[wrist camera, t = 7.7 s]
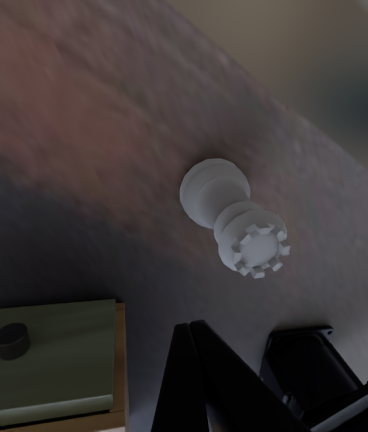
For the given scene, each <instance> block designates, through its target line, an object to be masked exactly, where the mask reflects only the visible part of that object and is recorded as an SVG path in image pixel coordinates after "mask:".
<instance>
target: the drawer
mask: <svg viewBox="0 0 368 432" xmlns="http://www.w3.org/2000/svg"><path fill="white" fill-rule="evenodd" d="M115 332H116V302H115V299H108V300H96V301H85V302H73V303H61V304H50V305H38V306H27V307H15V308H3V309H0V430H5V429H11V428H18V427H24V426H30V425H36V424H43V423H49V422H55V421H62V420H68V419H74V418H81V417H87V416H93V415H99V414H106V413H110V412H109V410H110V409H113V404H114V368H115Z"/></svg>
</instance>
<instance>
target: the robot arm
mask: <svg viewBox="0 0 368 432" xmlns="http://www.w3.org/2000/svg"><path fill="white" fill-rule="evenodd" d="M334 331H335V330H334V329H333V328H332V326H329V325H328V326H320V327H311V328H303V329H294V330H286V331H278V332H273V333H271V334H270V335H269V337H268V341H267V346H266V350H265V354H264V356H263V360H262V365H261V369H260V375H259V376H258V375H257V374H256V373H255V372H254V371H253V370H252V369H251V368H250V367H249V366H248V365H247V364H246V363H245V362H244V361H243V360H242V359H241V358H240V357H239V356H238V355H237V354H236V353H235V352H234V351H233V349H232V348H231V347H230V346H229V345H228V344H227V343H226V342H225V341H224V340H223V339H222V338H221V337H220V336H219V335H218V334H217V333H216V332H215V331H214V330H213V329H212V328H211V327H210V326H209V325H208V324H207V323H206V322H205V321H204V320H197V321H192V322H191V323H190V324H189V323H182V324H177V325H175V327H174V331H173V336H172V340H171V345H170V349H169V353H168V358H167V362H166V367H165V371H164V376H163V380H162V385H161V389H160V394H159V398H158V402H157V407H156V411H155V416H154V420H153V425H152V429H151V432H209V426H208V418H209V421H210V424H211V427H212V430H213V432H368V381H367V384H365V385H363V384H362V382H361V381H360V380H359V379H358V377H357V376H356V375H355V373H354V372H353V371H352V370H351V368H350V367H349V366H348V365H347V363H346V362H345V361H344V359H343V358H342V357H341V356H340V354H339V353H338V352H337V351H336V349H335V348H334V347H333V345H332V344H331V340H332V337H333V334H334ZM207 415H208V418H207Z"/></svg>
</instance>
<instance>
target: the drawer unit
mask: <svg viewBox="0 0 368 432" xmlns="http://www.w3.org/2000/svg"><path fill="white" fill-rule="evenodd" d="M109 412H110V413H106V414H99V415H93V416H87V417H81V418H74V419H68V420H62V421H55V422H49V423H43V424H36V425H30V426H24V427H18V428H11V429H5V430H0V432H130V415H129V393H128V370H127V348H126V325H125V303H116V332H115V368H114V404H113V409H110V410H109Z"/></svg>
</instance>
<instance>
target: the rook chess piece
mask: <svg viewBox="0 0 368 432" xmlns="http://www.w3.org/2000/svg"><path fill="white" fill-rule="evenodd" d="M180 202H181V204H182V206H183V208H184V210H185V212H186V213H187V214H188V216H189V217H190V218H191V219H192V220H193V221H195V222H196V223H197V224H198V225H200V226H203V227H207V228H211V229H213V230H214V237H215V239H216V241H217V243H218V244H219V252H218V253H219V255H220V257H221V259H222V262H223V263H224V264H225V265H226V266H228V267H229V268H230V269H232V270H234V271H238V272H239V273H241V274H242V275H243V276H246V274H247V273H248V272H250V273H251V274H252V276H253V277H254V279H255V278H262V277H265V274H264V271H263V270H264V269H266V268H268V267H271V268H272V269H273V270H274V272H276V271H277V270H278V269H279V268H280V267H281V266H282V265H283V264H282V263H281V261H280V260H279V257H280V255H281V254H282V255H289V250H290V245H289V244H288V243H287V242H286V238H287V230H286V227H285V224H284V221H283V220H282V219H281V218H280V217H279V216H278V215H277V214H276V213H274V212H270V211H267V210H264V209H263V208H262V207H261V206H260V205H259V204H256V203H253V202H251V201H250V187H249V184H248V181H247V179H246V176H245V175H244V174H243V173H242V171H241V170H240V169H239V168H238V167H237V166H236V165H235V164H234V163H233V162H230V161H227V160H224V159H222V158H216V159H206V160H204V161H202V162H200V163H198V164H196V165H194V166H193V167H192V168H191V169H190V171H189V172H188V173H187V174H186V175H185V176H184V179H183V181H182V184H181V186H180Z"/></svg>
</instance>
